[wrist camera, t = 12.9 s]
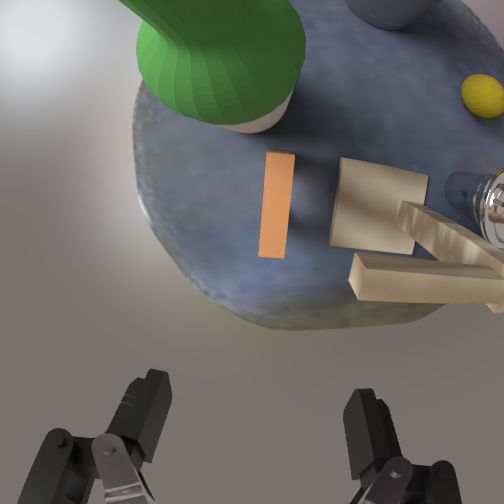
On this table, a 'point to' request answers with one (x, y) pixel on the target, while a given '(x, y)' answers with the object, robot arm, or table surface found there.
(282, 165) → the c link
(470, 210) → the cup with straw
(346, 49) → the table surface
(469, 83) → the lemon
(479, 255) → the hook stand
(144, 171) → the table surface
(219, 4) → the wine bottle
